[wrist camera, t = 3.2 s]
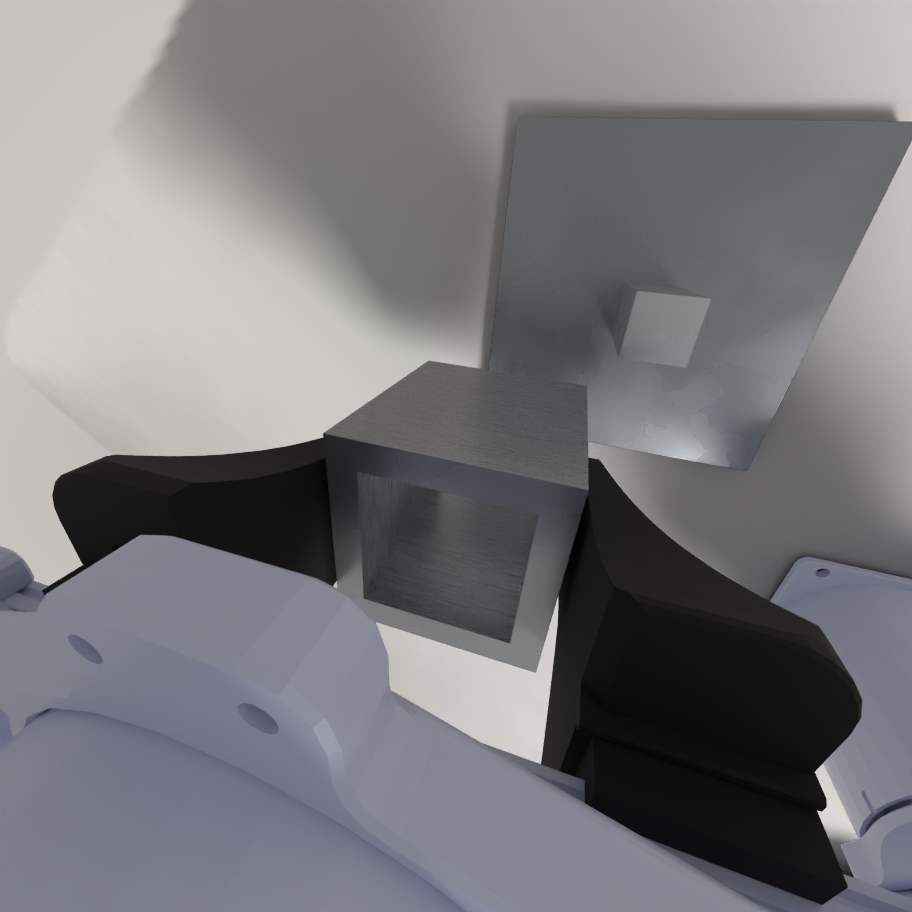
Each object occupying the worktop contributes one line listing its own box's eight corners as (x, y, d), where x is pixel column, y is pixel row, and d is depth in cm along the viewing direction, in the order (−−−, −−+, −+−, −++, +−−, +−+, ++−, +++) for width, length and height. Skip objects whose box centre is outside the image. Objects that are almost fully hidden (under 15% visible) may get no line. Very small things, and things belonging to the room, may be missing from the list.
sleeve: (587, 385, 12) (588, 490, 7) (553, 519, 14) (535, 672, 9) (428, 360, 13) (322, 433, 8) (423, 489, 15) (339, 610, 10)
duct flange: (902, 129, 12) (1087, 56, 8) (740, 462, 18) (792, 533, 13) (520, 122, 15) (492, 65, 10) (485, 416, 21) (457, 462, 16)
